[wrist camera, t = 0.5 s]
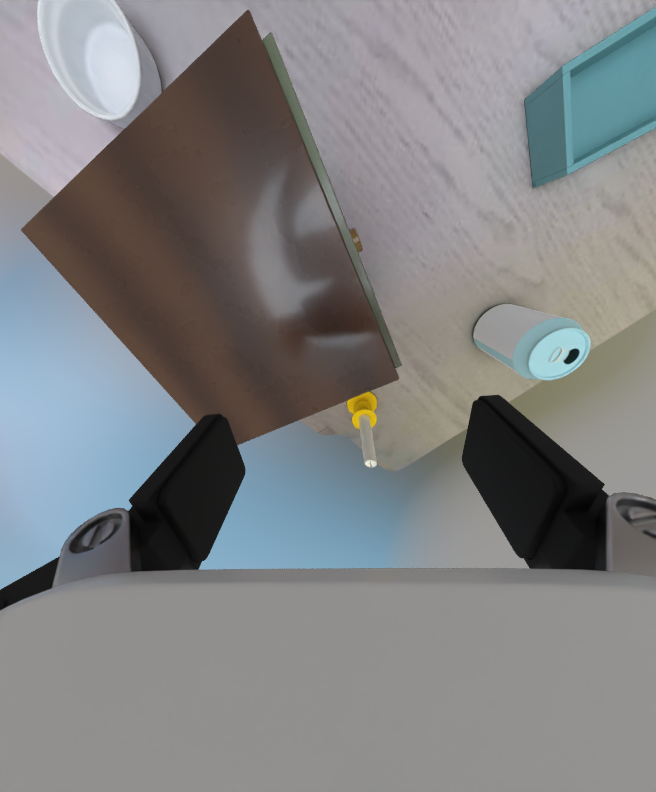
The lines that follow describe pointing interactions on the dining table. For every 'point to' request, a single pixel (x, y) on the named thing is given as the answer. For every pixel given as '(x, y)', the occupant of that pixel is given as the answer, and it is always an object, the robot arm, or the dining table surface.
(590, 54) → the storage box
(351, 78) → the dining table surface
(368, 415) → the candle
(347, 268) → the drawer chest
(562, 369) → the can
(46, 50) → the ramekin
